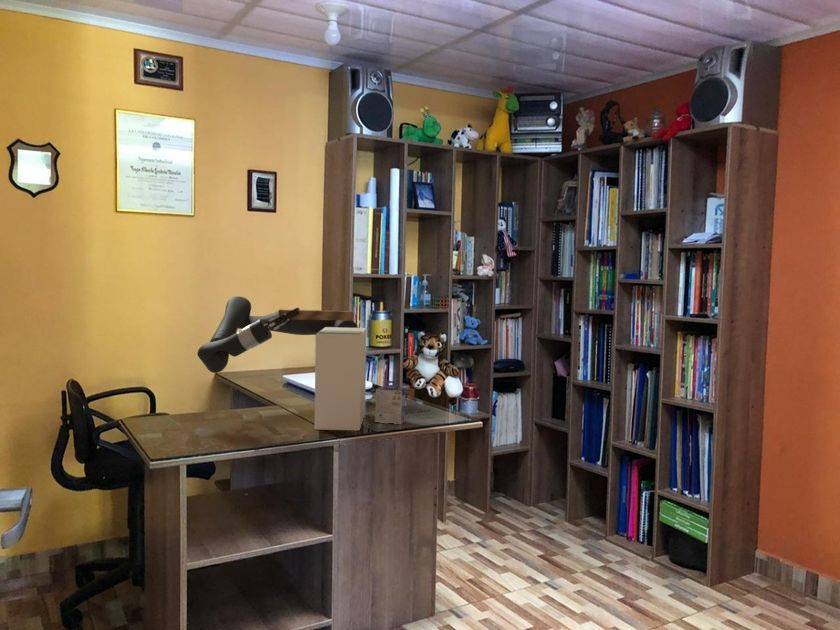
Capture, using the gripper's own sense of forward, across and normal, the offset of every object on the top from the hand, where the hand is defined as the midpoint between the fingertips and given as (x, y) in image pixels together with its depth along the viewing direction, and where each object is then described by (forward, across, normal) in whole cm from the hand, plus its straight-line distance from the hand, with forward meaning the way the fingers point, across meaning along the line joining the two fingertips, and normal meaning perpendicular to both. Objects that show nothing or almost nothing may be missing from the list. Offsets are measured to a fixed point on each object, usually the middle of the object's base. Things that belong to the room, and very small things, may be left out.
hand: (298, 310), depth 236 cm
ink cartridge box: (+8, +7, +50) cm, 51 cm away
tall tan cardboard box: (-7, +6, +41) cm, 42 cm away
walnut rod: (+4, 0, +6) cm, 7 cm away
